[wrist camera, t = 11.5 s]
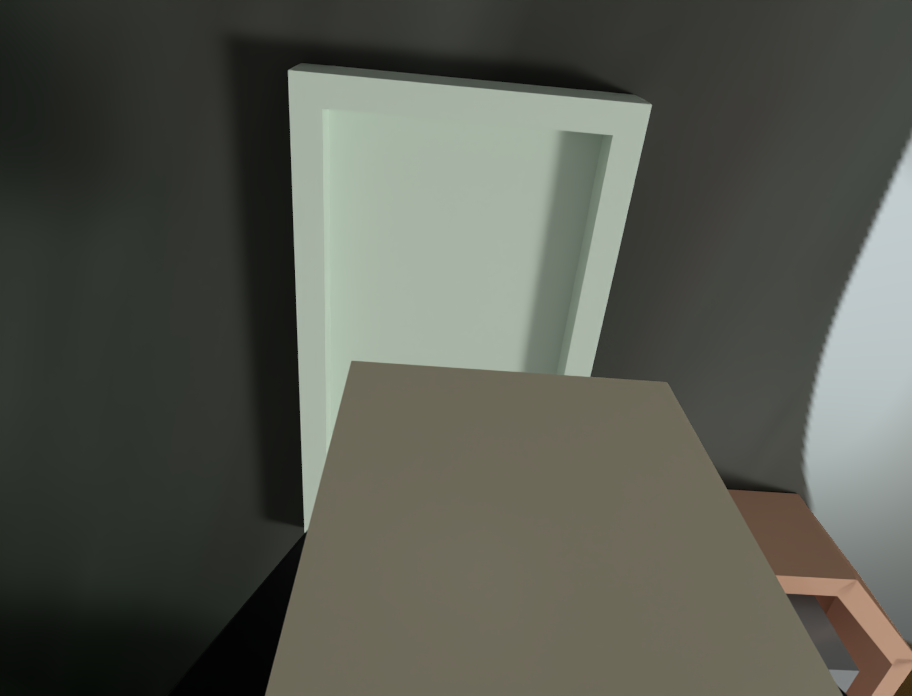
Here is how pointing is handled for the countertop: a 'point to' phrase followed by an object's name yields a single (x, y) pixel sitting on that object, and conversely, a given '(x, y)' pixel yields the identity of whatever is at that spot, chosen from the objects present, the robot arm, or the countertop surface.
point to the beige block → (530, 549)
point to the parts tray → (450, 227)
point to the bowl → (827, 586)
